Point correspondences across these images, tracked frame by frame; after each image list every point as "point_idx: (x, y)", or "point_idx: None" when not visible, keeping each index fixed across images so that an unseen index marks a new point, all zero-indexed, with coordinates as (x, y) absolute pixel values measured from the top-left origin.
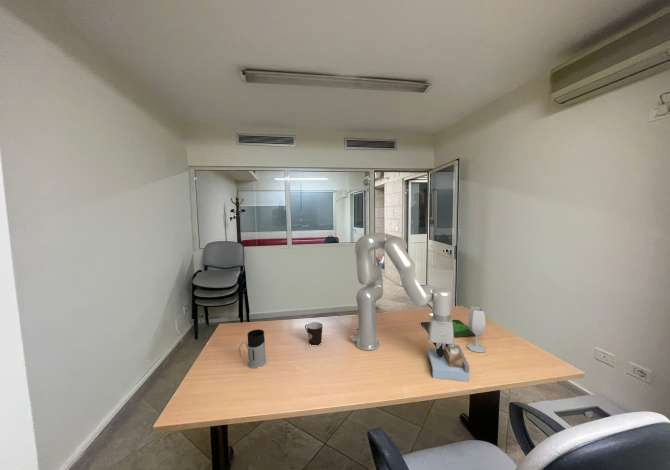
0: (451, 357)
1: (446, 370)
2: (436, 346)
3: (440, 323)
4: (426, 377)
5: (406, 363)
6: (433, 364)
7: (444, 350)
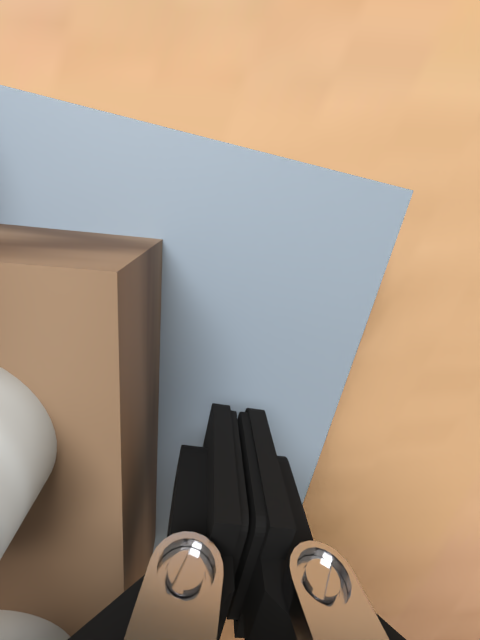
0: (80, 261)
1: (239, 152)
2: (366, 600)
3: None
4: (410, 210)
5: (475, 408)
6: (355, 302)
7: (138, 535)
